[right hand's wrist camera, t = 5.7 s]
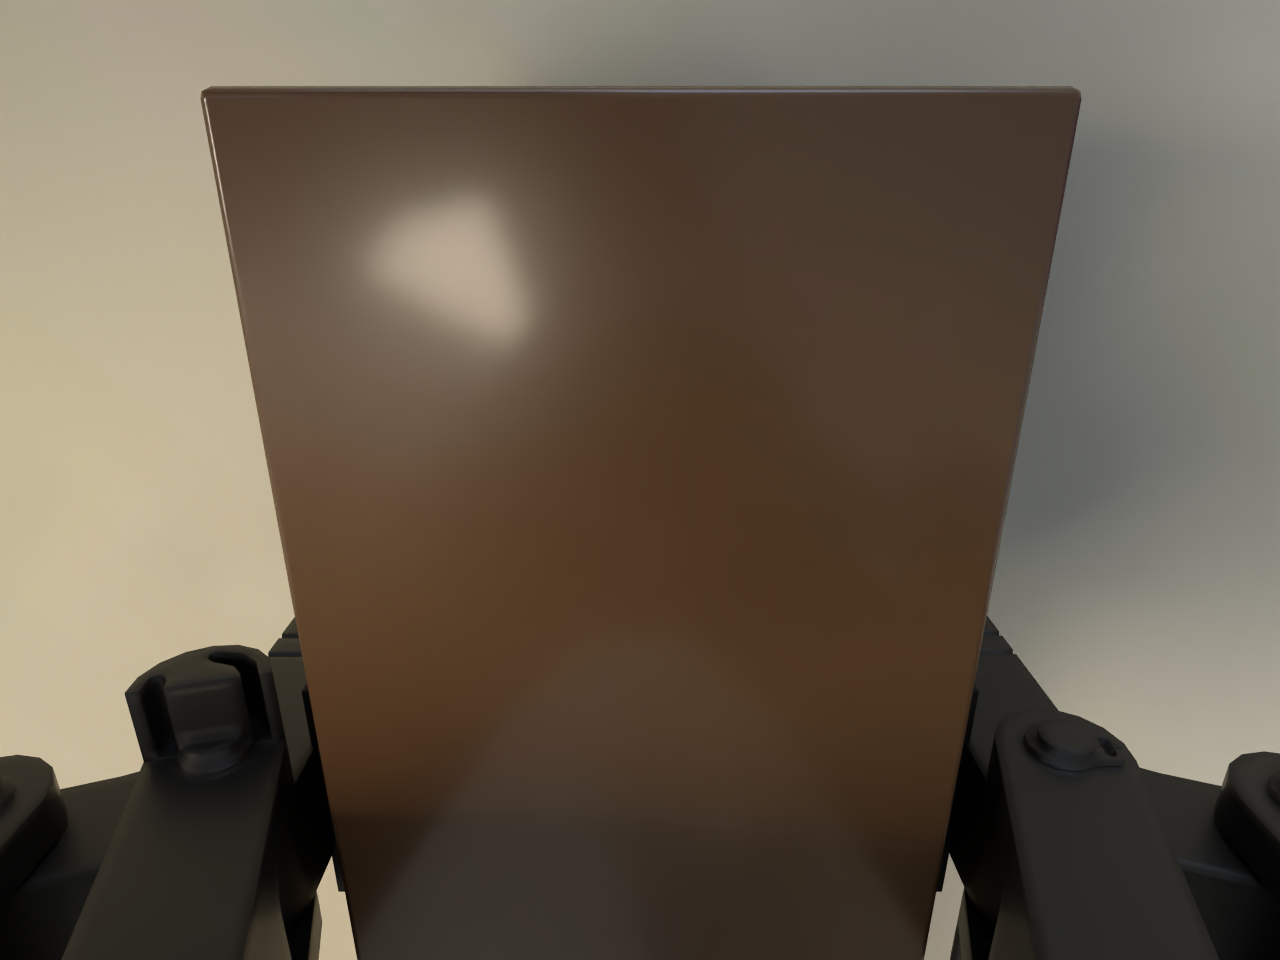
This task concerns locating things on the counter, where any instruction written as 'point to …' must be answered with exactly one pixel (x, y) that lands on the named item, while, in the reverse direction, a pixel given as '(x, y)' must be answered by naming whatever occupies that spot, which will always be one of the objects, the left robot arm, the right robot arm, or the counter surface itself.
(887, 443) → the bar
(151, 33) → the counter surface
